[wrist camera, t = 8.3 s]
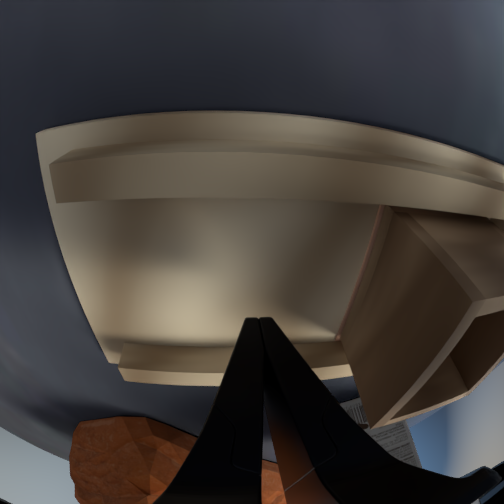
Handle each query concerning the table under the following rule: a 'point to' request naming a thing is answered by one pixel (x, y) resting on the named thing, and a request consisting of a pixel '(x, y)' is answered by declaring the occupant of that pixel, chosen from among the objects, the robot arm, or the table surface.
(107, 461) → the bread
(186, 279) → the beige cubby shelf
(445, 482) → the robot arm
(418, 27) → the table surface
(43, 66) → the table surface
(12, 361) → the table surface
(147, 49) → the table surface
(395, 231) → the crate
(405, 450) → the coffee box
